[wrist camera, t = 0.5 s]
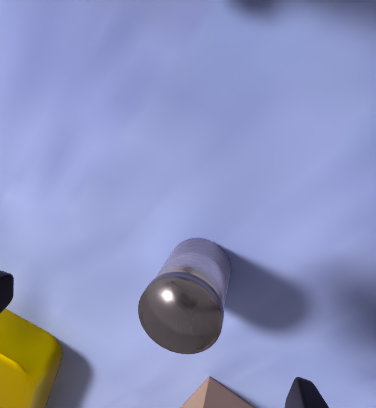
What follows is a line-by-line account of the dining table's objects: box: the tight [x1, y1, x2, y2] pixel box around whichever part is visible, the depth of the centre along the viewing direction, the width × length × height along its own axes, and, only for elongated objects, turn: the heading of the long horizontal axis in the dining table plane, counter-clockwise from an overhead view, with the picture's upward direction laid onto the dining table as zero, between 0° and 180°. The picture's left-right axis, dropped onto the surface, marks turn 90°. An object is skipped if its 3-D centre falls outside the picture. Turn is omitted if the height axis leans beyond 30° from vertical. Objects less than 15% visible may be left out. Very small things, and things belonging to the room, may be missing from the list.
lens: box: [138, 238, 231, 354], centre depth 19 cm, size 5×5×6 cm
